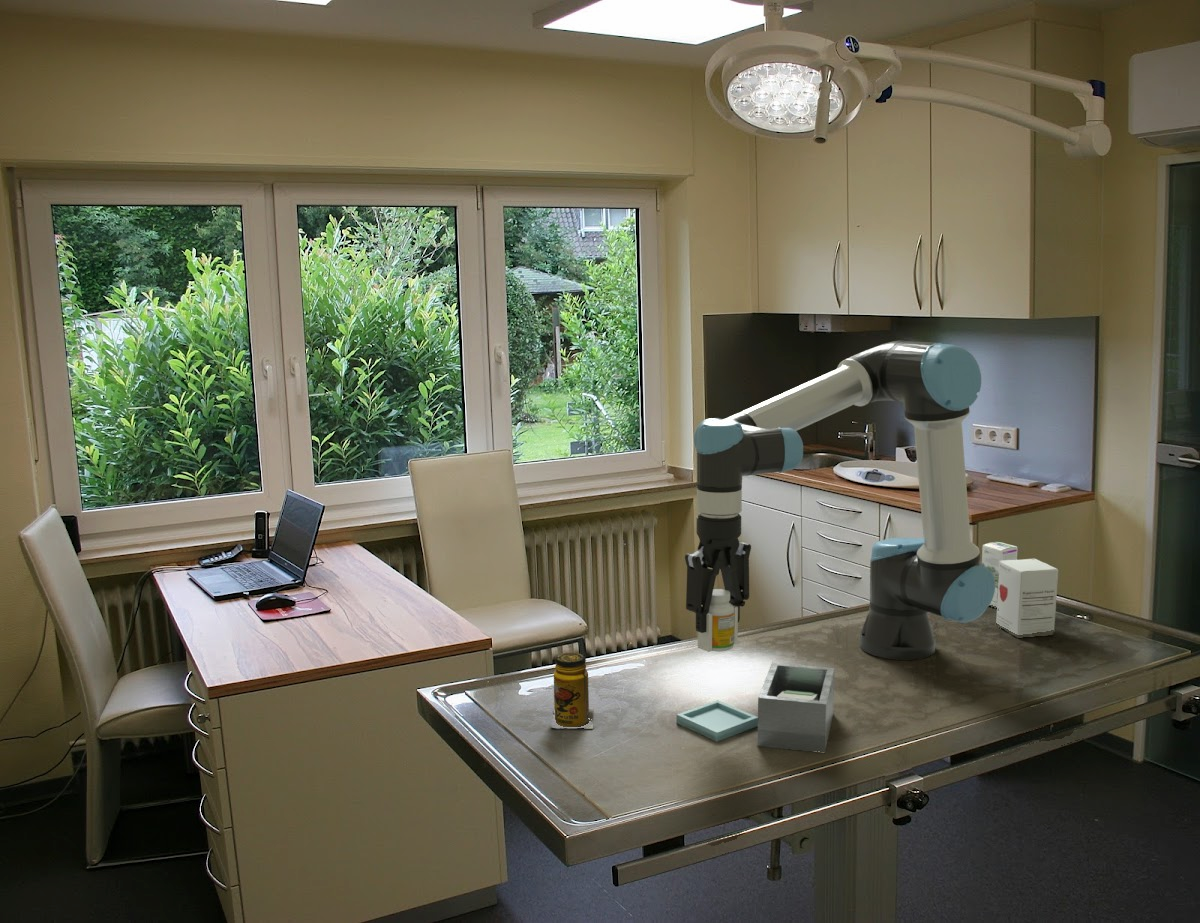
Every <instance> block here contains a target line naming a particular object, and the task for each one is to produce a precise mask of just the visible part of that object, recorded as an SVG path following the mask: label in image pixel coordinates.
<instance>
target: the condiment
mask: <svg viewBox="0 0 1200 923" xmlns="http://www.w3.org/2000/svg"><path fill="white" fill-rule="evenodd" d="M586 662H587V659H586V657H585V655H584V654H581V653H578V652H566V653H562V654H558V655H557V656H556V657H555V671H554V673H553V702H554V703H553V704H554V705H553V706H554V710H555V713H554V715H555V720H556V723H557V724H558V725H560V726H563V727H581V726H584V725H586V724H588V723H589V721H591V722H592V723H591V724H592V725H588V726H591V727H589V728H588V727H586V728H584V729H583V730H585V729H586V730H588V729H589V730H590V729H592V730H594V709H595V708H589V707H590V706H589V705H590V702H589V701H590V698H589V695H590V694H589V693H590V692H589V672H588V671H587V665H586ZM588 718H590V720H589V719H588ZM591 719H592V720H591Z"/></svg>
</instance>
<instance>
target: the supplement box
mask: <svg viewBox="0 0 1200 923" xmlns="http://www.w3.org/2000/svg"><path fill="white" fill-rule="evenodd" d="M1058 580H1059V569H1058V568H1057V567H1054V566H1052V565H1050V564H1048V563H1046V562H1044V561H1041V560H1039V559H1037V558H1025V559H1017V560H1003V561H1000V563H999V581H998V599H997V609H996V620H995V622H996V623H997V624H999V625H1000V626H1002V627H1004V628H1006V629H1008V630H1009V631H1011V632H1013V633H1015V634H1017V635H1023V634H1032V633H1037V632H1046V631H1051V630H1054V631H1055V624H1056V623H1055V622H1056V610H1057V594H1058ZM996 623H995V624H996Z"/></svg>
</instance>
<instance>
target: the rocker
mask: <svg viewBox="0 0 1200 923" xmlns="http://www.w3.org/2000/svg"><path fill="white" fill-rule="evenodd" d="M777 697H786V698H796V699H806V700H816V701H818V699H817V698H818V694H814V693H811V692H801V691H790V690H786V691H782V692H781V693H780V694H779V695H777Z"/></svg>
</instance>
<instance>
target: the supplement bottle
mask: <svg viewBox="0 0 1200 923" xmlns="http://www.w3.org/2000/svg"><path fill="white" fill-rule="evenodd" d="M729 601H730V592H729V591H727V590H725V589H723V588H715V589H713V593H712V598H711V603H710V608H709V612H708V613H711V614H712V651H711V652H727V651H731V649H733V648H734V645H735V644H734V607H733V605H732V604H730V603H729Z"/></svg>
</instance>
